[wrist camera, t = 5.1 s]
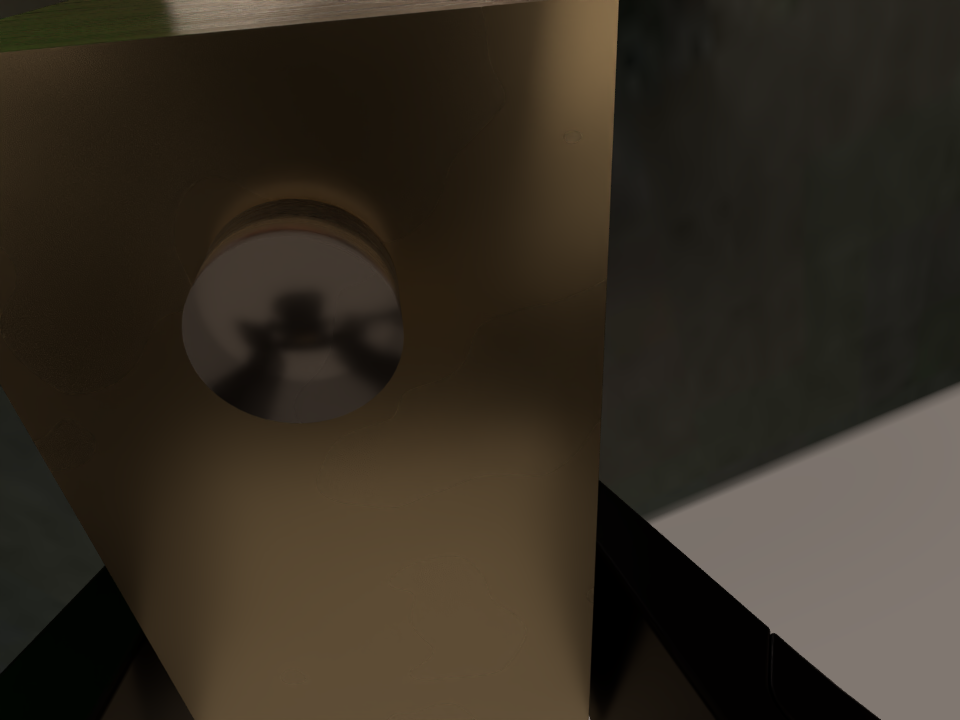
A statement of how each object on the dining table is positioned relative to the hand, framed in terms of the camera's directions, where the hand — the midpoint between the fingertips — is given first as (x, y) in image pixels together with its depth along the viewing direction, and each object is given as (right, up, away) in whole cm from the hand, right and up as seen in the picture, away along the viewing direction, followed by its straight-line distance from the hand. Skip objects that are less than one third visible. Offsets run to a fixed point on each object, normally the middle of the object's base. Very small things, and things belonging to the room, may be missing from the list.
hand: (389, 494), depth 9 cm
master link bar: (0, +1, +1) cm, 1 cm away
